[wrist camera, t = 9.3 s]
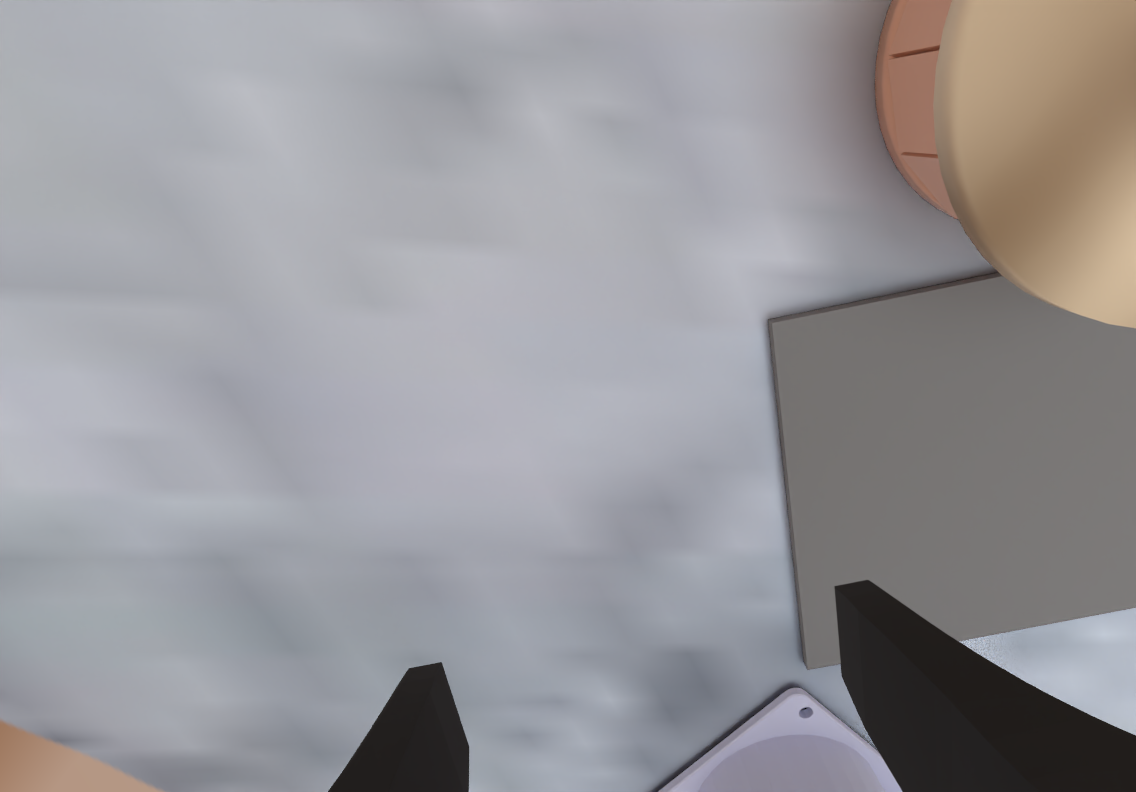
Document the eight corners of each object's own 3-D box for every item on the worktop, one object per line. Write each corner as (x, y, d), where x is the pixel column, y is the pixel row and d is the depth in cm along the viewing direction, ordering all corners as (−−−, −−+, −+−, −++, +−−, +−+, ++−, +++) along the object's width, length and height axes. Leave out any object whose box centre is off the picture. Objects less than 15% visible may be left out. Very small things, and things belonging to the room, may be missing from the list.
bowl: (1270, 51, 20) (1498, 29, 15) (997, 290, 22) (1124, 336, 17) (1095, -237, 17) (1304, -372, 13) (806, 62, 19) (894, 42, 15)
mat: (1248, 577, 26) (1259, 583, 25) (803, 662, 26) (807, 670, 26) (1307, 209, 21) (1321, 211, 21) (768, 319, 22) (772, 323, 21)
